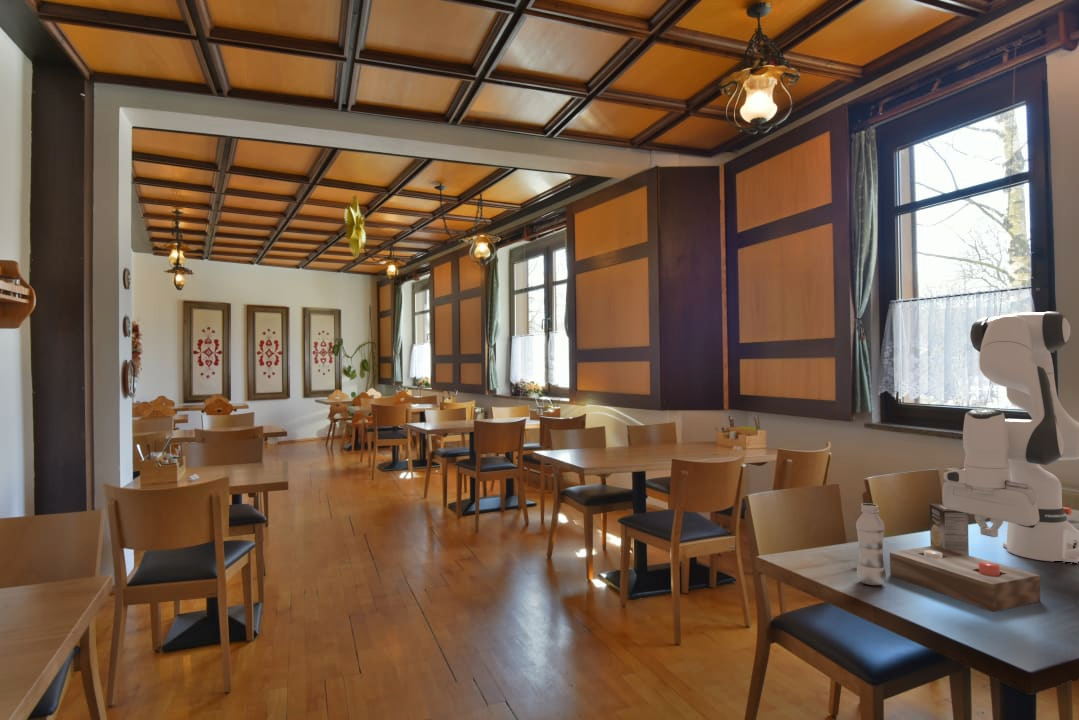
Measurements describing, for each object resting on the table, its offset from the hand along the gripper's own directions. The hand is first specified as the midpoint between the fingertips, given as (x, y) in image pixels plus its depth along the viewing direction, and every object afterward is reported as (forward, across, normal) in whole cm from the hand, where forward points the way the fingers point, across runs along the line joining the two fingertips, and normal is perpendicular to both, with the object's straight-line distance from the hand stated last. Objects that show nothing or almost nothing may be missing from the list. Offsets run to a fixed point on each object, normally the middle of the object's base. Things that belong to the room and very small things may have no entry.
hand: (989, 535), depth 144 cm
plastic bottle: (+14, +17, +19) cm, 29 cm away
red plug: (+13, 0, +1) cm, 13 cm away
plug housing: (+14, +7, +1) cm, 16 cm away
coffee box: (+15, +20, -13) cm, 28 cm away
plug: (+14, +14, +1) cm, 20 cm away
